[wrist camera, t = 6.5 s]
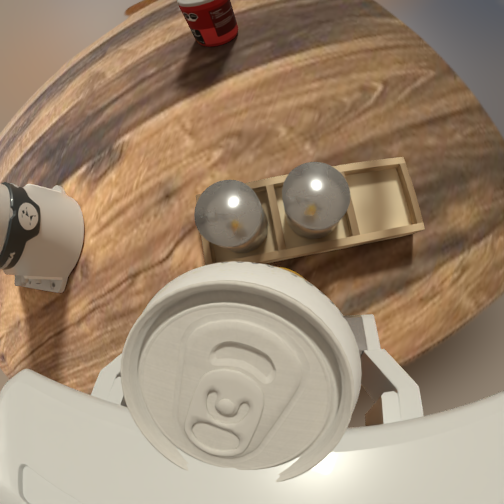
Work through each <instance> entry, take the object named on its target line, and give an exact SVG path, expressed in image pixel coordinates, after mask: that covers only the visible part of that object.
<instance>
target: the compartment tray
mask: <svg viewBox="0 0 504 504" xmlns="http://www.w3.org/2000/svg"><path fill="white" fill-rule="evenodd" d="M332 167H334V168H335V169H337V170H338V171H339V172H340V173H341V174H342V175H343V176H344V178H345V179H346V181H347V183H348V186H349V189H350V204H349V207H348V209H347V211H346V213H345V214H344V216H343V217H342V219H341V220H340V221H339V223H338V224H337V225H336V227H335V228H334V229H333V231H332V232H331V233H329V234H328V235H327V236H325V237H323V238H320V239H306V238H303V237H301V236H299V235H297V234H296V233H295V232H294V231H293V230H292V229H291V228H290V227H289V225H288V223H287V220H286V216H285V210H284V204H283V198H282V188H283V184H284V181H285V179H286V177H287V176H288V175H289V174H287V175H282V176H277V177H272V178H267V179H263V180H258V181H253V182H249V183H244V184H246V185H248V186H249V187H250V188H251V189H252V190H253V191H254V192H255V194H256V195H257V197H258V199H259V201H260V203H261V205H262V207H263V210H264V212H265V214H266V216H267V219H268V224H269V228H268V233H267V236H266V239H265V240H264V242H263V243H262V244H261V245H260V246H259V247H258V248H257V249H255V250H253V251H251V252H248V253H235V252H232V251H230V250H227V249H225V248H223V247H220V246H218V245H216V244H213V243H211V242H209V241H208V240H206V239H205V238H204V237H203V236H202V235H201V238H202V245H203V252H204V259H205V265H210V264H215V263H221V262H231V261H236V262H253V263H260V264H266V263H271V262H276V261H281V260H287V259H292V258H297V257H302V256H307V255H312V254H318V253H323V252H328V251H333V250H338V249H343V248H348V247H353V246H358V245H363V244H368V243H373V242H377V241H382V240H387V239H392V238H397V237H402V236H406V235H411V234H414V233H417V232H419V231H422V230H424V229H425V228H424V224H423V220H422V216H421V212H420V208H419V205H418V201H417V198H416V194H415V191H414V188H413V184H412V181H411V178H410V175H409V172H408V169H407V166H406V163H405V160H404V158H403V157H398V158H389V159H381V160H373V161H365V162H358V163H351V164H345V165H338V166H332ZM200 196H201V194H199V195H196V201H198V199H199V197H200Z"/></svg>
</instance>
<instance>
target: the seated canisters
mask: <svg viewBox="0 0 504 504" xmlns="http://www.w3.org/2000/svg"><path fill="white" fill-rule="evenodd" d="M282 198H283V204H284V210H285V216H286V220H287V223H288V225H289V227H290V228H291V229H292V230H293V231H294V232H295V233H296V234H297V235H299V236H301V237H303V238H306V239H320V238H323V237H325V236H327V235H328V234H329V233H331V232H332V231H333V229H334V228H335V227H336V225H337V224H338V223H339V221H340V220H341V219H342V217H343V216H344V214H345V213H346V211H347V209H348V207H349V204H350V189H349V186H348V183H347V181H346V179H345V178H344V176H343V175H342V174H341V173H340V172H339V171H338V170H337V169H335V168H334V167H332V166H330V165H328V164H325V163H320V162H309V163H305V164H302V165H300V166H298V167H296V168H295V169H293V170H292V171H291V172H290V173H289V175H288V176H287V177H286V179H285V181H284V184H283V188H282ZM195 223H196V226H197V228H198V230H199V232H200V233H201V235H202V236H203V237H204V238H205V239H206V240H208V241H209V242H211V243H213V244H216V245H218V246H220V247H223V248H225V249H227V250H230V251H232V252H235V253H248V252H251V251H253V250H255V249H257V248H258V247H259V246H260V245H261V244H262V243H263V242H264V240H265V239H266V236H267V233H268V228H269V224H268V219H267V216H266V214H265V212H264V210H263V207H262V205H261V203H260V201H259V199H258V197H257V195H256V194H255V192H254V191H253V190H252V189H251V188H250V187H249V186H248V185H246V184H244V183H242V182H240V181H236V180H224V181H220V182H217V183H215V184H213V185H211V186H210V187H208V188H207V189H206V190H205V191H204V192H203V193H202V194H201V196H200V197H199V199H198V201H197V204H196V207H195Z"/></svg>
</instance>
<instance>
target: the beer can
mask: <svg viewBox="0 0 504 504" xmlns="http://www.w3.org/2000/svg"><path fill="white" fill-rule="evenodd" d="M120 372H121V385H122V390H123V395H124V398H125V402H126V405H127V407H128V410H129V412H130V414H131V416H132V418H133V420H134V422H135V424H136V425H137V427H138V428H139V430H140V431H141V433H142V434H143V435H144V437H145V438H146V439H147V440H148V441H149V443H150V444H151V445H152V446H153V447H154V448H155V449H156V450H157V451H158V452H159V453H161V454H162V455H163V456H164V457H166V458H167V459H168V460H169V461H171V462H172V463H174V464H175V465H177V466H178V467H180V468H182V469H184V470H187V471H188V467H187V464H189V463H188V462H187V461H186V460H185V459H184V458H183V457H182V455H181V454H180V452H179V451H178V450H177V448H176V446H177V447H178V448H179V449H181V450H182V451H184V452H185V453H187V454H189V455H190V456H192V457H194V458H196V459H198V460H200V461H202V462H205V463H207V464H210V465H214V466H218V467H222V468H236V469H238V470H258V469H265V468H269V467H273V466H277V465H279V464H282V463H285V462H287V461H289V460H292V459H295V458H298V457H300V456H301V457H300V458H299V459H298V460H296V461H295V462H294V463H293V464H292V465H291V466H290V467H288V468H287V469H285V470H284V471H283V472H281V473H280V474H278V475H280V477H279V478H278V479H277V480H276V482H282V481H285V480H288V479H291V478H294V477H296V476H298V475H301V474H303V473H305V472H306V471H308V470H310V469H311V468H313V467H315V466H316V465H317V464H319V463H320V462H321V461H322V460H324V459H325V458H326V457H327V456H328V455H329V454H330V453H331V452H332V451H333V449H334V448H335V447H336V446H337V444H338V443H339V442H340V440H341V438H342V437H343V435H344V433H345V432H346V429H347V427H348V424H349V422H350V419H351V415H352V412H353V410H354V408H355V405H356V403H357V400H358V396H359V392H360V387H361V376H362V372H361V359H360V354H359V349H358V346H357V343H356V340H355V337H354V334H353V332H352V330H351V328H350V326H349V324H348V322H347V321H346V319H345V318H344V316H343V315H342V313H341V312H340V311H339V309H338V308H337V307H336V306H335V305H334V304H333V303H332V301H331V300H330V299H329V298H328V297H326V296H325V295H324V294H323V293H322V292H321V291H320V290H319V289H317V288H316V287H315V286H313V285H312V284H311V283H310V282H308V281H307V280H306V279H305V278H303V277H302V276H301V275H299V274H298V273H296V272H294V271H292V270H289V269H286V268H282V267H276V266H271V265H266V264H260V263H253V262H236V261H231V262H221V263H215V264H210V265H205V266H202V267H199V268H196V269H193V270H190V271H188V272H186V273H184V274H182V275H180V276H178V277H177V278H175V279H174V280H172V281H171V282H170V283H168V284H167V285H166V286H165V287H163V288H162V289H161V290H160V291H159V292H158V293H157V294H156V295H155V296H154V297H153V299H152V300H151V301H150V302H149V304H148V305H147V307H146V308H145V310H144V311H143V313H142V315H141V316H140V317H139V318H138V319H137V321H136V323H135V324H134V326H133V327H132V329H131V331H130V333H129V335H128V337H127V339H126V342H125V345H124V348H123V353H122V358H121V371H120ZM175 445H176V446H175Z"/></svg>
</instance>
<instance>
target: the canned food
mask: <svg viewBox="0 0 504 504" xmlns="http://www.w3.org/2000/svg"><path fill="white" fill-rule="evenodd" d="M177 2H178V5H179V7H180V9H181V11H182V13H183V15H184V17H185V19H186V21H187V23H188V25H189V27H190V29H191V31H192V33H193V35H194V37H195V40H196V41H197V42H198V43H199V44H201V45H203V46H208V47H212V46H219V45H222V44H225V43H227V42H229V41H231V40H232V39H234V38H235V37H236V35H237V33H238V26H237V22H236V19H235V16H234V12H233V9H232V5H231V2H230V0H177Z"/></svg>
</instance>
